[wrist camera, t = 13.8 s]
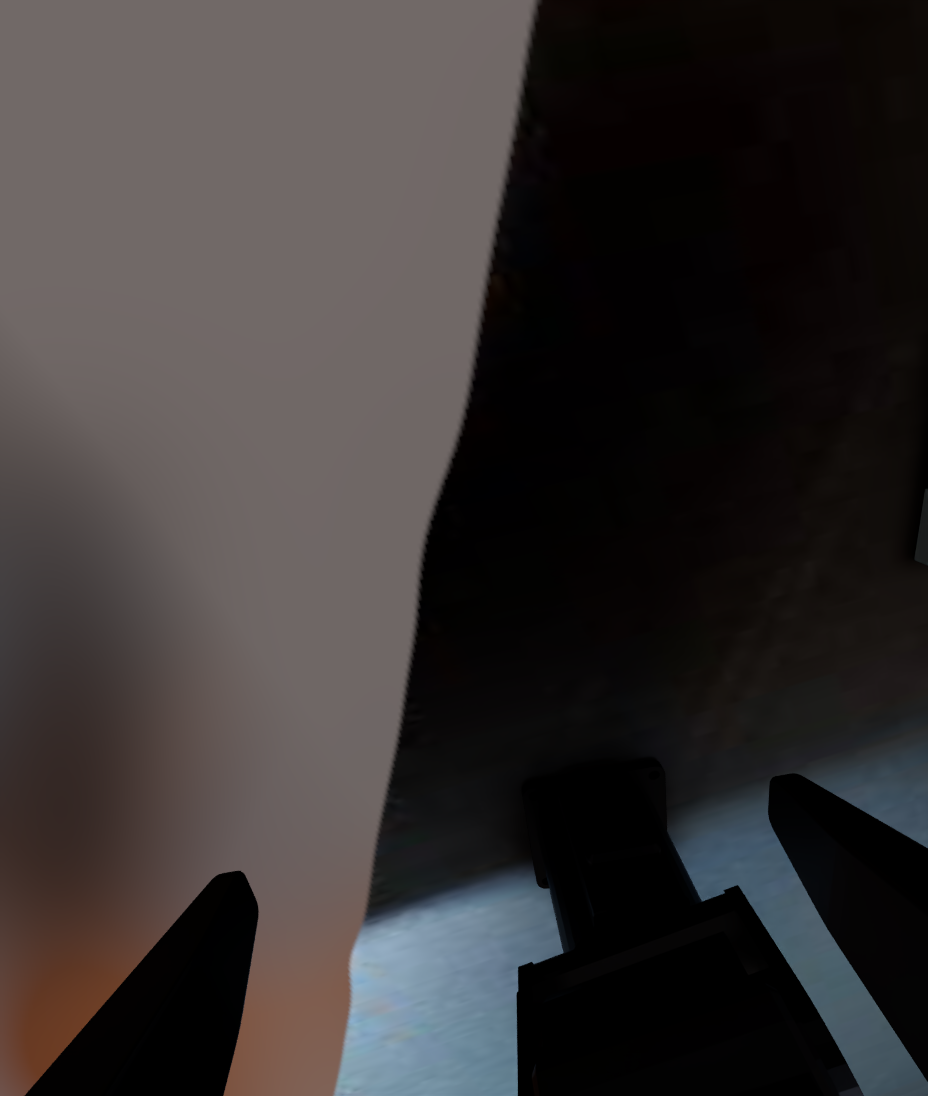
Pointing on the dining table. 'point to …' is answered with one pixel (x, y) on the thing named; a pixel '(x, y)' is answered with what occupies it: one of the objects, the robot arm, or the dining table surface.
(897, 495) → the dining table surface
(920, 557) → the teal stand
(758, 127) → the dining table surface
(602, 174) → the dining table surface
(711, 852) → the dining table surface
